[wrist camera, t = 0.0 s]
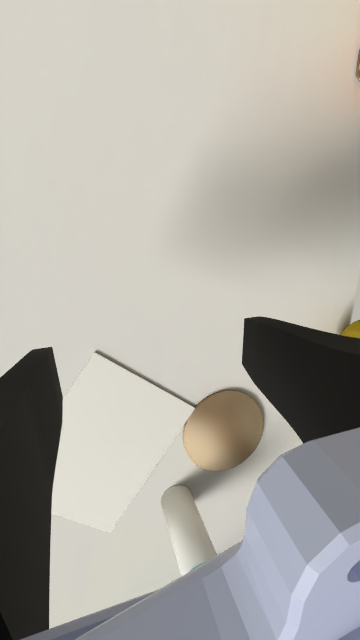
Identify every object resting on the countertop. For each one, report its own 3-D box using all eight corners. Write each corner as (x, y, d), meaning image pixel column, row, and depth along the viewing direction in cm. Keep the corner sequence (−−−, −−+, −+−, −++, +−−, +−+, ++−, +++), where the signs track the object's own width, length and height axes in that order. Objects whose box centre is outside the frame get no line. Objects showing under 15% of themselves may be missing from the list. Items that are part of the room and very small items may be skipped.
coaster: (230, 479, 27) (232, 482, 27) (166, 448, 25) (167, 451, 24) (275, 412, 27) (278, 415, 27) (215, 375, 24) (217, 377, 24)
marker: (179, 517, 26) (215, 622, 19) (153, 507, 25) (181, 613, 18) (197, 490, 26) (240, 586, 19) (172, 480, 25) (207, 576, 18)
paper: (110, 531, 25) (110, 533, 25) (-1, 493, 22) (-2, 495, 22) (194, 407, 25) (195, 408, 24) (94, 351, 21) (94, 352, 21)
